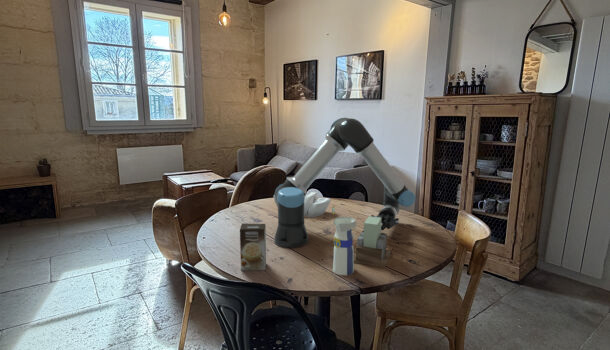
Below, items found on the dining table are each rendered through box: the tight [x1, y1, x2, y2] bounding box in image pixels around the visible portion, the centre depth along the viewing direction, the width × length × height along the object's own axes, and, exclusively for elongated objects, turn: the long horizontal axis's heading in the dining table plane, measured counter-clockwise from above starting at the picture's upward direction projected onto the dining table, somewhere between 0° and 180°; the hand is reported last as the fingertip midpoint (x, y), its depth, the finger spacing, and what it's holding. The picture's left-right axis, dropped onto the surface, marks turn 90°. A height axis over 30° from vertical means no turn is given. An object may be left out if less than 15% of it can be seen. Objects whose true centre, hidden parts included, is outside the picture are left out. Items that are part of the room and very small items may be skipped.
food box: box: [239, 223, 267, 271], centre depth 124 cm, size 9×6×16 cm
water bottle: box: [331, 204, 358, 276], centre depth 120 cm, size 8×9×25 cm
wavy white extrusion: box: [304, 191, 332, 218], centre depth 193 cm, size 35×16×10 cm, turn 63°
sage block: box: [363, 215, 382, 249], centre depth 132 cm, size 9×5×14 cm, turn 157°
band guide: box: [354, 230, 392, 269], centre depth 133 cm, size 15×13×9 cm
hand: (377, 230), depth 141 cm, fingers closed
